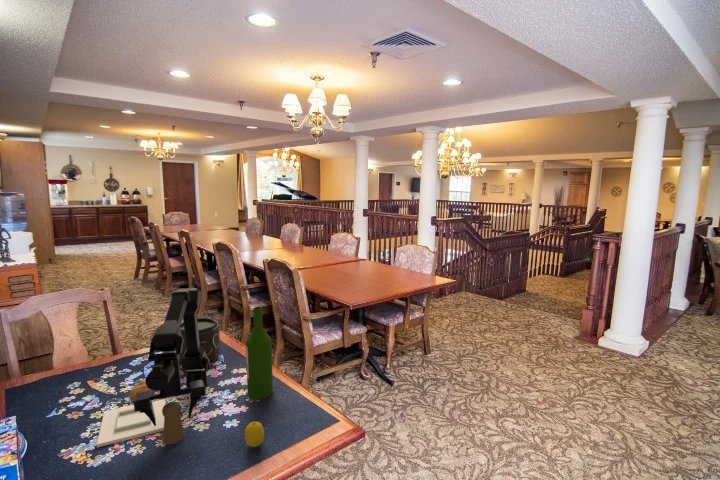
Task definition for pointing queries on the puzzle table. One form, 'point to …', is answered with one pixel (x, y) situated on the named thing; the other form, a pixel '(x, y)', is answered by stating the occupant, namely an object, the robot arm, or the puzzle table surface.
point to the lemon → (254, 434)
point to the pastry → (139, 389)
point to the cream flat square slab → (129, 424)
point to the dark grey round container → (205, 338)
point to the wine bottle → (259, 360)
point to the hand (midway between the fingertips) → (172, 420)
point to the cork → (172, 423)
